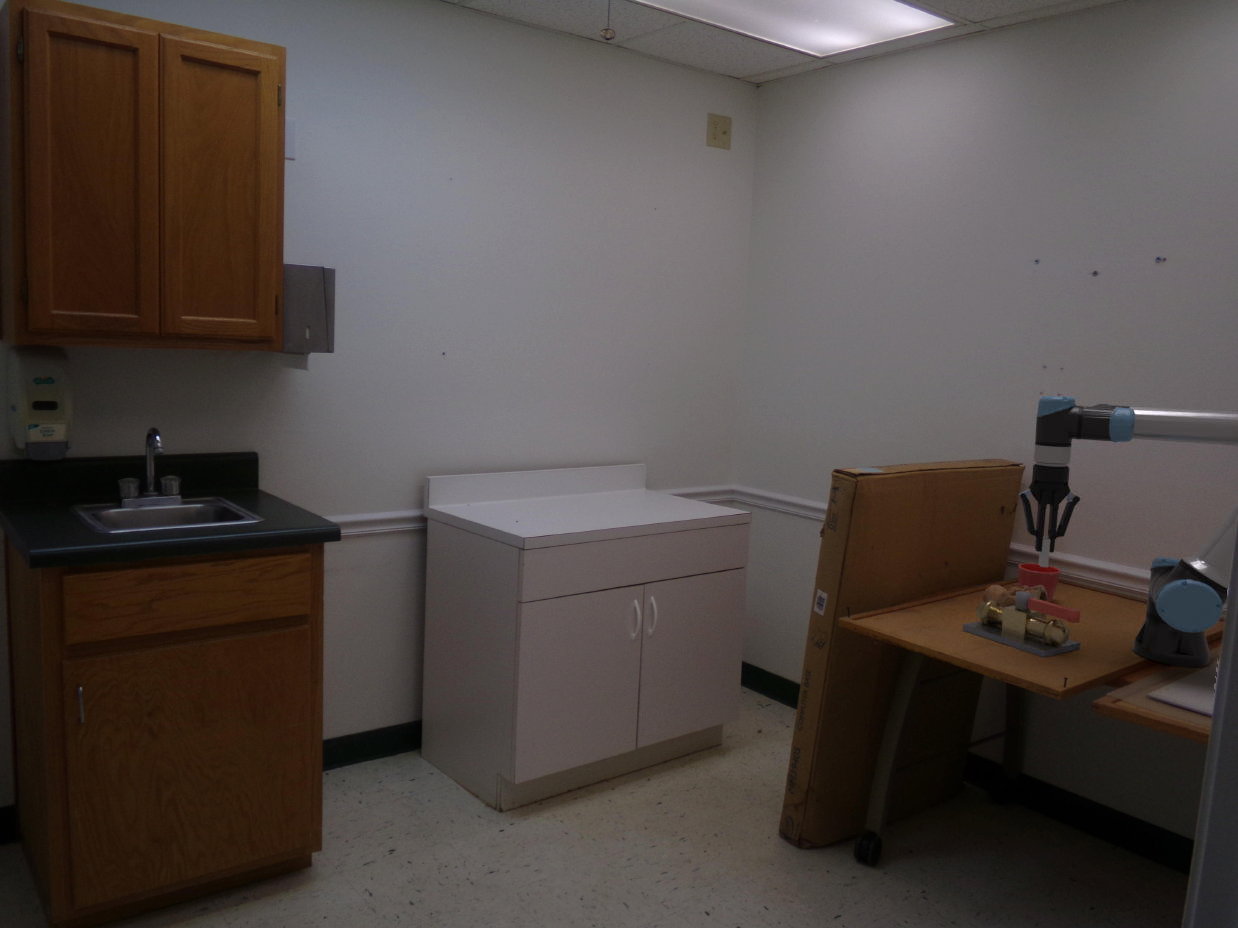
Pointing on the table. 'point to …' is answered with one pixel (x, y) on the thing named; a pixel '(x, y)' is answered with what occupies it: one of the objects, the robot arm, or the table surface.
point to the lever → (1046, 607)
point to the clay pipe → (1014, 595)
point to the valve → (1021, 629)
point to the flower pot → (1039, 577)
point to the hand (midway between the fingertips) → (1043, 565)
